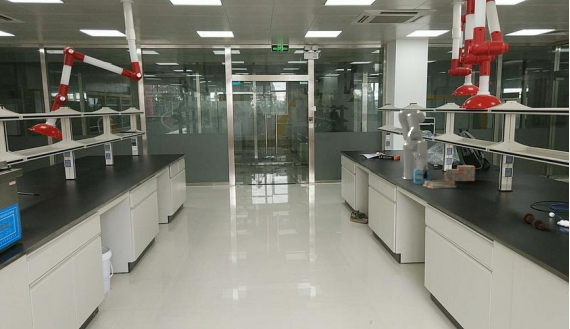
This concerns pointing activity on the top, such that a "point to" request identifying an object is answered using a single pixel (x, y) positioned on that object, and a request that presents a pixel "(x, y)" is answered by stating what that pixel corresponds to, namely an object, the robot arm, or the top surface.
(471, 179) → the stack of blocks
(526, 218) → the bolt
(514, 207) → the top surface
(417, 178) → the data package
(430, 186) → the cradle
